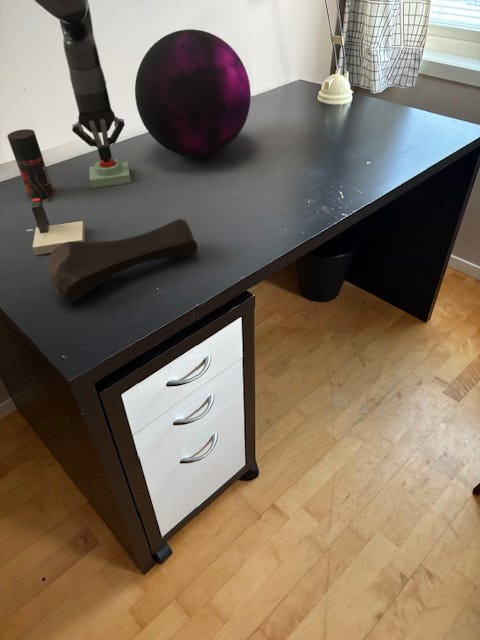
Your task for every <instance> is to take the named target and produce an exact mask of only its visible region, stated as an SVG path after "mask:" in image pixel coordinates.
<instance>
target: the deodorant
mask: <svg viewBox="0 0 480 640" xmlns="http://www.w3.org/2000/svg"><path fill="white" fill-rule="evenodd" d="M7 140H8V142H9V146H10V149H11V150H12V154H13V157H14V159H15V162H16V165H17V168H18V170H19V173H20V176H21V179H22V180H23V183H24V187H25V190H26V191H27V195H28V197H29V199H30V200H32V201H33V199H36V198H40V199H41V201H43V200H46V199H49V198H51V197H52V196H53V195H54V193H55V192H54V188H53V185H52V182H51V179H50V175H49V172H48V170H47V167H46V166H47V165H46V163H45V161H44V157H43V154H42V151H41V148H40V145H39V142H38V139H37V136H36V133H35V130H33V129H30V128H29V129H28V128H27V129H24V128H23V129H17V130H14V131H12V132H11V131H10V133H8V134H7Z"/></svg>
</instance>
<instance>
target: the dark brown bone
mask: <svg viewBox="0 0 480 640" xmlns="http://www.w3.org/2000/svg"><path fill="white" fill-rule="evenodd" d="M198 248H199V247H198V243H197V241H196V240H195V238H194V234H193V232H192V231H191V228H190V226H189V223H188V222H187V220H186V219H184V218H178V219H175V220H174V221H171V222H168V223H167V224H164V225H162V226H160V227H157V228H155V229H153V230H150V231H148V232H145V233H142V234H139V235H135V236H131V237H126V238H123V239H116V240H108V241H85V242H66V243H63V244H62V245H60V246H58V247H57V248H56V249H55V250H54V251H53V253H50V257H49V261H48V271H49V272H48V273H49V275H50V279H51V282H52V285H53V287H54V292H55V294H56V296H57V298H58V299H60V300H61V301H62V300H63V301H65V302H67V303H75V302H76V301H78V300H79V299H81V298H83V297H84V296H85V295H86V294H88V293H89V292H90V291H92V290H93V289H94V288H95V287H97V286H98V285H100V284H101V283H103V282H104V281H106V280H108V279H109V278H111V277H112V276H114V275H117V274H118V273H120V272H123V271H125V270H127V269H129V268H132V267H135V266H138V265H141V264H144V263H148V262H151V261H156V260H162V259H170V258H179V257H180V258H182V257H190V256H193V255H194V254H196V253H197V251H198Z"/></svg>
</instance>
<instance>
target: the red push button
mask: <svg viewBox="0 0 480 640" xmlns="http://www.w3.org/2000/svg"><path fill="white" fill-rule="evenodd" d="M114 159H115V158H113V157H111V159H109V160H110V161H109V162H104V161H103V160H101V159H100V160H99V161H100V166H101V167H104V168H107V167H112V166H114V165H115V162H114Z"/></svg>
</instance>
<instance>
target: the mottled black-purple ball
mask: <svg viewBox="0 0 480 640" xmlns="http://www.w3.org/2000/svg"><path fill="white" fill-rule="evenodd" d="M135 76H136V77H135V85H134V97H135V98H134V99H135V104H136V109H137V112H138V115H139V117H140V120H141V122H142V124H143V125H144V127H145V129H146V131H147V132H148V133H149V135H150V136H151V137H152V139H154V140H155V141H156V142H157V143H158V144H159V145H161V146H162V147H163V148H165V149H166V150H168V151H170V152H172V153H175V154H177V155H180V156H184V157H191V158H198V157H199V158H201V157H206V156H211V155H214V154H217V153H218V152H221V151H222V150H224V149H225V148H226V147H228V146H229V145H230V144H232V142H234V141H235V139H236V138H237V137H238V136H239V135H240V133H241V132H242V131H243V128H244V127H245V124H246V122H247V119H248V116H249V113H250V107H251V98H252V97H251V96H252V92H251V84H250V83H251V82H250V79H249V75H248V72H247V69H246V67H245V65H244V63H243V60H242V59H241V57H240V56H239V54H238V53H237V52H236V51H235V49H233V48H232V46H231V45H230V44H228V42H226V41H225V40H223V38H221V37H220V36H218V35H215V34H213V33H211V32H208V31H204V30H201V29H193V28H191V29H190V28H188V29H180V30H176V31H173V32H170V33H168V34H166V35H164V36H163V37H161V38H160V39H158V40H157V41H156V42H154V43H153V45H152V46H150V48H149V49H148V50H147V51H146V53H145V55H144V56H143V57H142V60H141V62H140V64H139V66H138V69H137V73H136V75H135Z"/></svg>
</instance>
